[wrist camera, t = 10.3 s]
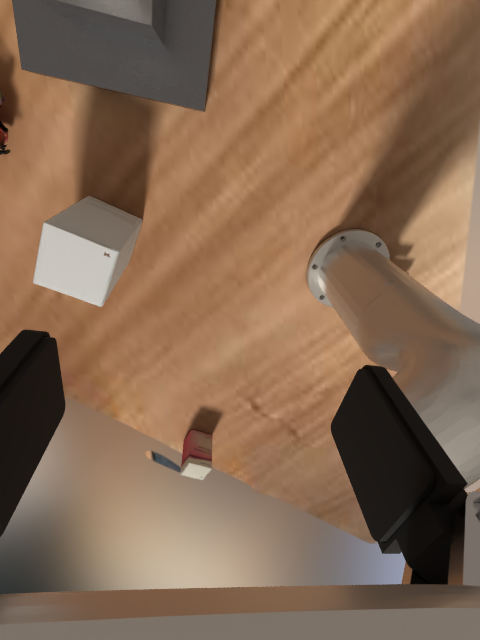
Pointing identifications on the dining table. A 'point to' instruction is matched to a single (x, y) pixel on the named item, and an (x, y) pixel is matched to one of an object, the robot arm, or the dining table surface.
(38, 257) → the supplement box
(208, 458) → the small box
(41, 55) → the stand
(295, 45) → the dining table surface
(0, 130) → the dragon fruit
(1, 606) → the robot arm
